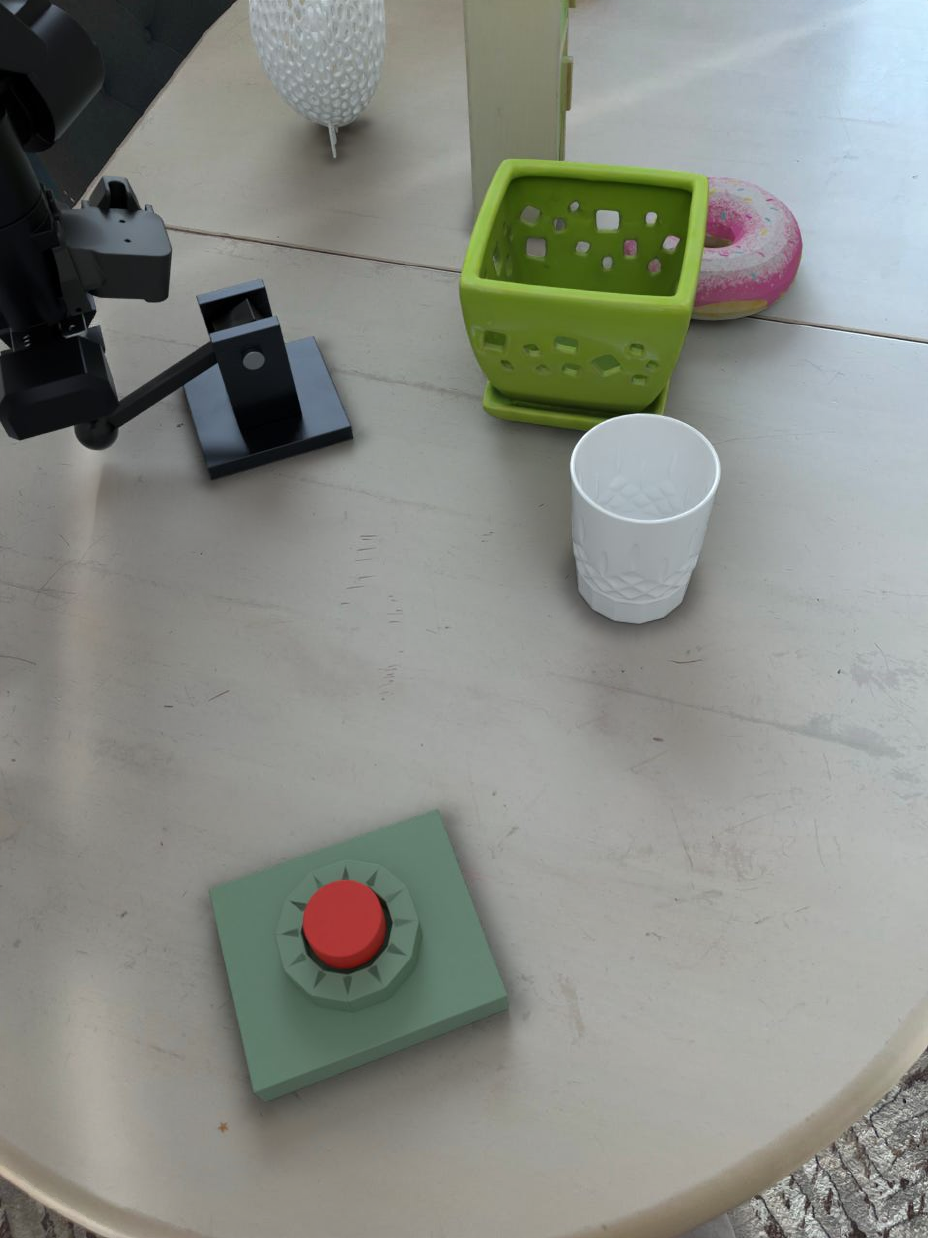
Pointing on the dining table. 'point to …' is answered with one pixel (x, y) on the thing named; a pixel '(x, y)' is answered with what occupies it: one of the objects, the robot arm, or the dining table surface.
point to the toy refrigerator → (516, 85)
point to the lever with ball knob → (161, 384)
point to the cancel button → (344, 924)
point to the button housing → (368, 994)
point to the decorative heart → (321, 55)
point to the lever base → (260, 390)
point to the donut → (741, 251)
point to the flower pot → (581, 290)
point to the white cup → (640, 513)
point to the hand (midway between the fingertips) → (88, 414)
